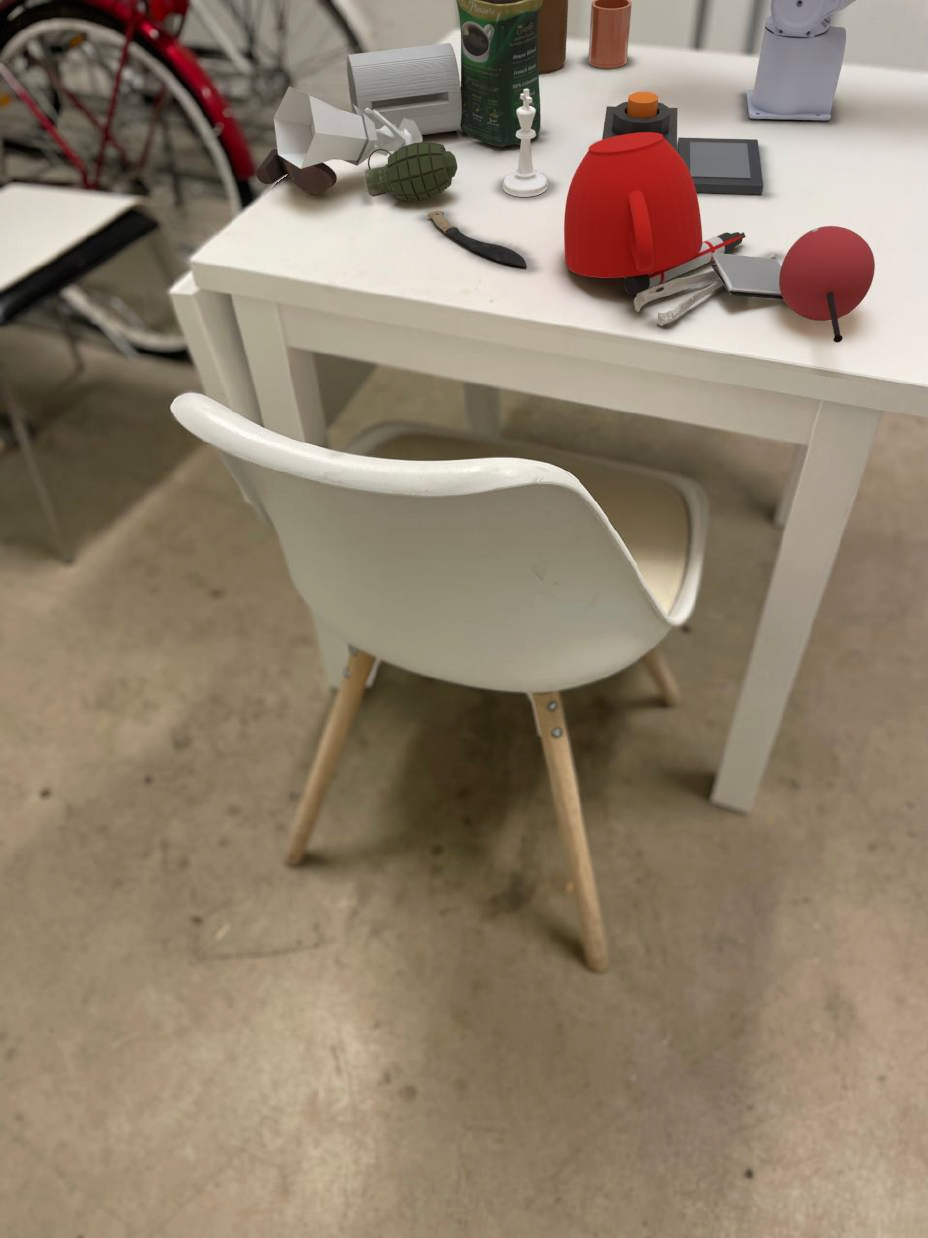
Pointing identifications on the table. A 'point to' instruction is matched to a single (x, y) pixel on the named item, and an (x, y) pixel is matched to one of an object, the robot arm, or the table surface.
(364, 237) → the table surface
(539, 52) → the mug
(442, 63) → the grey rounded slotted piece
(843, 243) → the lollipop
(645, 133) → the ceramic cup
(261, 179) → the heeled mule
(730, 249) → the marker
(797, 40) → the robot arm
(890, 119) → the table surface
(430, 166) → the grenade
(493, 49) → the coffee jar
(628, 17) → the clay cup
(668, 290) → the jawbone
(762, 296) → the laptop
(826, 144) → the table surface
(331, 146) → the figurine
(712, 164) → the tray
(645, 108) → the button
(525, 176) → the chess piece
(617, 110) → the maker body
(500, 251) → the machete
